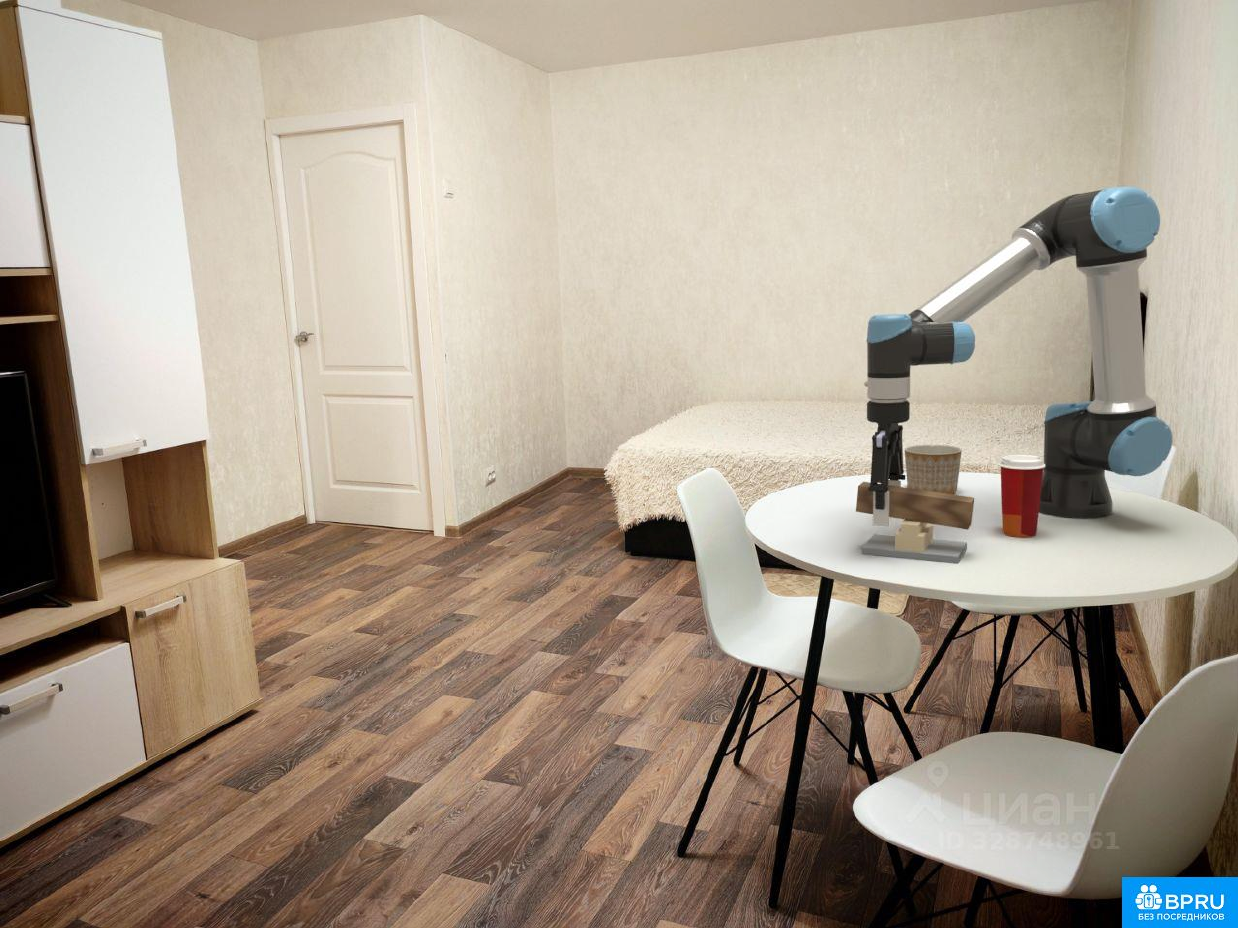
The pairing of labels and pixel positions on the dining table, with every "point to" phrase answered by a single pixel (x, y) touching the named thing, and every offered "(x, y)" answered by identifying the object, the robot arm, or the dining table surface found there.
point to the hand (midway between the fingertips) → (887, 519)
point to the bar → (921, 506)
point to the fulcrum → (915, 544)
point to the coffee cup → (1020, 494)
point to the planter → (933, 467)
